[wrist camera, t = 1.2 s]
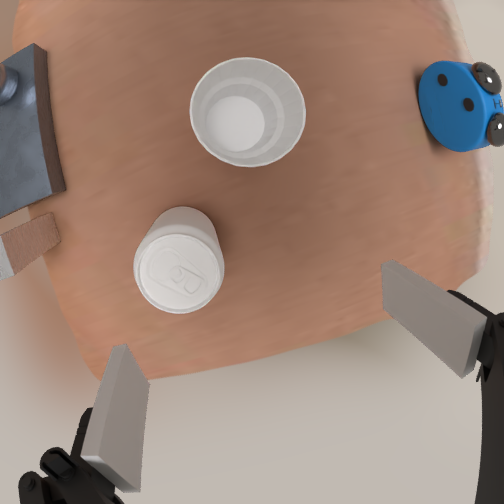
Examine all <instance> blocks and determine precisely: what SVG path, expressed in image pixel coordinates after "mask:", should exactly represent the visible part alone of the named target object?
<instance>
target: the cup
mask: <svg viewBox="0 0 504 504" xmlns="http://www.w3.org/2000/svg"><path fill="white" fill-rule="evenodd" d="M189 113H190V119H191V125H192V128H193V130H194V132H195V134H196V137H197V139H198V141H199V142H200V143H201V144H202V145H203V146H204V147H205V149H206V150H207V151H208V152H209V153H211V154H212V155H214V156H215V157H217V158H218V159H220V160H221V161H224V162H226V163H229V164H232V165H235V166H242V167H257V166H263V165H267V164H270V163H272V162H274V161H277V160H279V159H281V158H282V157H283V156H284V155H286V154H287V153H288V152H289V151H291V150H292V148H293V147H294V146H295V144H296V143H297V142H298V140H299V139H300V137H301V134H302V131H303V129H304V126H305V117H306V108H305V103H304V98H303V95H302V93H301V91H300V89H299V87H298V85H297V83H296V82H295V81H294V80H293V79H292V77H291V76H290V75H289V74H288V73H287V72H285V71H284V70H283V69H281V68H280V67H279V66H277V65H275V64H273V63H271V62H268V61H266V60H263V59H257V58H251V57H244V58H234V59H230V60H228V61H225V62H222V63H219V64H218V65H216V66H215V67H213V68H212V69H210V70H209V71H208V72H206V74H205V75H204V76H203V77H202V78H201V80H200V81H199V82H198V83H197V85H196V87H195V90H194V92H193V94H192V97H191V103H190V111H189Z"/></svg>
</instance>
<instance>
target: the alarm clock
mask: <svg viewBox="0 0 504 504" xmlns="http://www.w3.org/2000/svg"><path fill="white" fill-rule="evenodd" d="M501 88H502V84H501V80H500V77H499V75H498V74H497V72H496V71H495V69H493V68H492V67H491V66H490V65H488V64H486V63H483V62H476V63H474V64H473V65H471V64H468V63H461V62H452V61H438V62H435V63H433V64H431V65H430V66H429V67H428V68H427V69H426V70H425V71H424V73H423V75H422V77H421V80H420V84H419V93H418V94H419V105H420V109H421V113H422V116H423V119H424V121H425V123H426V125H427V127H428V129H429V130H430V132H431V133H432V135H433V136H434V137H435V138H436V139H437V141H439V142H440V143H441V144H442V145H443V146H445V147H446V148H448V149H450V150H453V151H457V152H466V151H470V150H474V149H479V148H483V147H486V146H489V145H490V144H491V145H493V146H496V147H500V146H502V145H504V110H503V104H502V99H501V96H500V94H499V93H500V91H501Z"/></svg>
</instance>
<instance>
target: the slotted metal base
mask: <svg viewBox="0 0 504 504" xmlns="http://www.w3.org/2000/svg"><path fill="white" fill-rule="evenodd" d="M65 190H66V187H65V183H64V179H63V174H62V170H61V165H60V160H59V155H58V150H57V145H56V139H55V133H54V127H53V120H52V113H51V105H50V96H49V85H48V71H47V52H46V51H45V50H44V49H42V48H41V47H39V46H38V45H36V44H35V43H33V44H31V45H29V46H27V47H26V48H24V49H22V50H21V51H19V52H17V53H16V54H14V55H12V56H11V57H9V58H8V59H6V60H5V61H3V62H2V63H0V219H1V218H3V217H5V216H7V215H9V214H11V213H13V212H16V211H18V210H20V209H22V208H24V207H27V206H29V205H31V204H33V203H36V202H38V201H40V200H43V199H45V198H47V197H50V196H52V195H55V194H57V193H60V192H62V191H65Z"/></svg>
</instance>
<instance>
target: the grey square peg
mask: <svg viewBox="0 0 504 504" xmlns="http://www.w3.org/2000/svg"><path fill="white" fill-rule="evenodd" d="M59 242H61V240H60V237H59V234H58V231H57V228H56V224H55V221H54V218H53V214H52V212H51V213H48V214H46V215H43V216H41V217H38V218H36V219H34V220H31V221H29V222H27V223H25V224H22V225H20V226H18V227H16V228H14V229H12V230H10V231H8V232H6V233H3V234H2V235H0V280H3V279H6V278H9V277H11V276H14V275H16V274H17V273H18V272H20V271H21V270H22V269H23V268H25V267H26V266H27V265H29V264H30V263H31V262H33V261H34V260H35V259H37V258H38V257H40V256H41V255H42V254H44V253H45V252H46V251H48V250H49V249H51V248H52V247H54V246H55V245H56V244H58V243H59Z"/></svg>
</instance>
